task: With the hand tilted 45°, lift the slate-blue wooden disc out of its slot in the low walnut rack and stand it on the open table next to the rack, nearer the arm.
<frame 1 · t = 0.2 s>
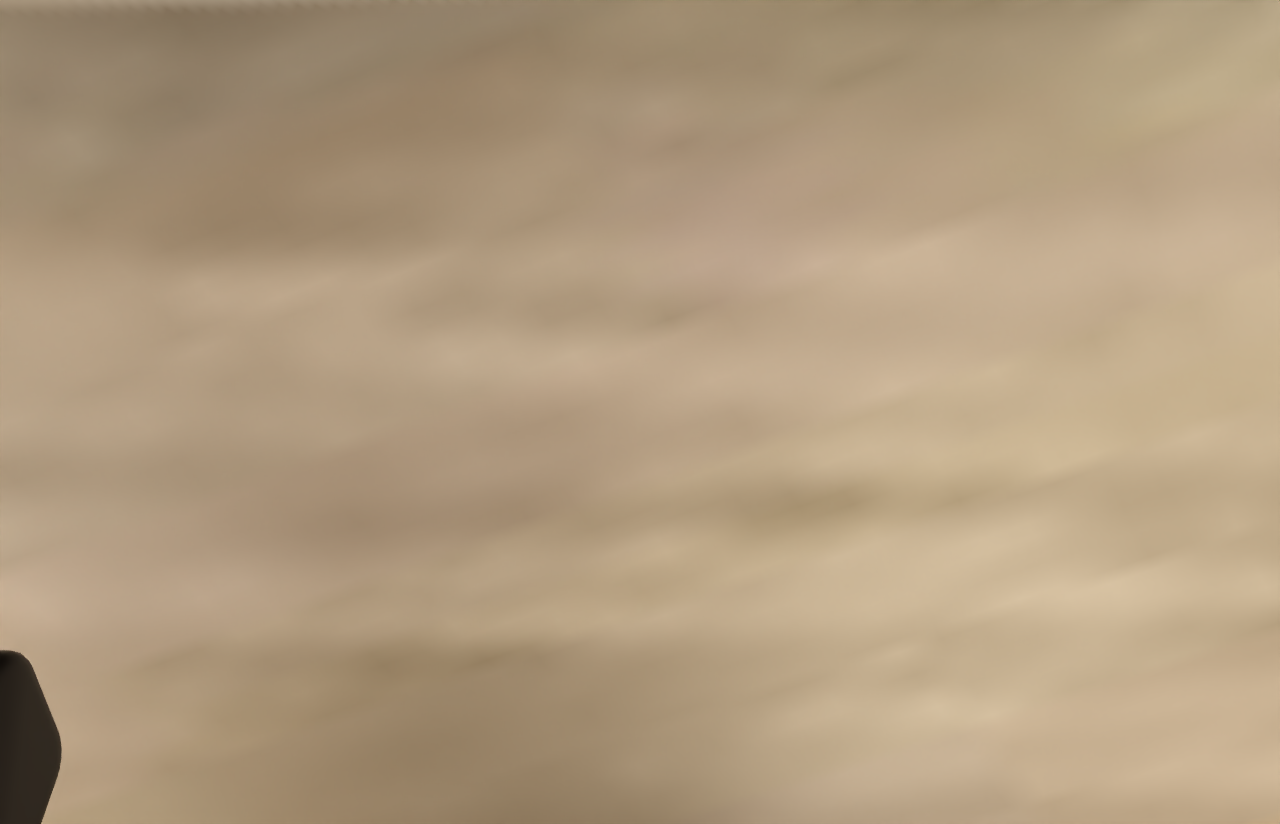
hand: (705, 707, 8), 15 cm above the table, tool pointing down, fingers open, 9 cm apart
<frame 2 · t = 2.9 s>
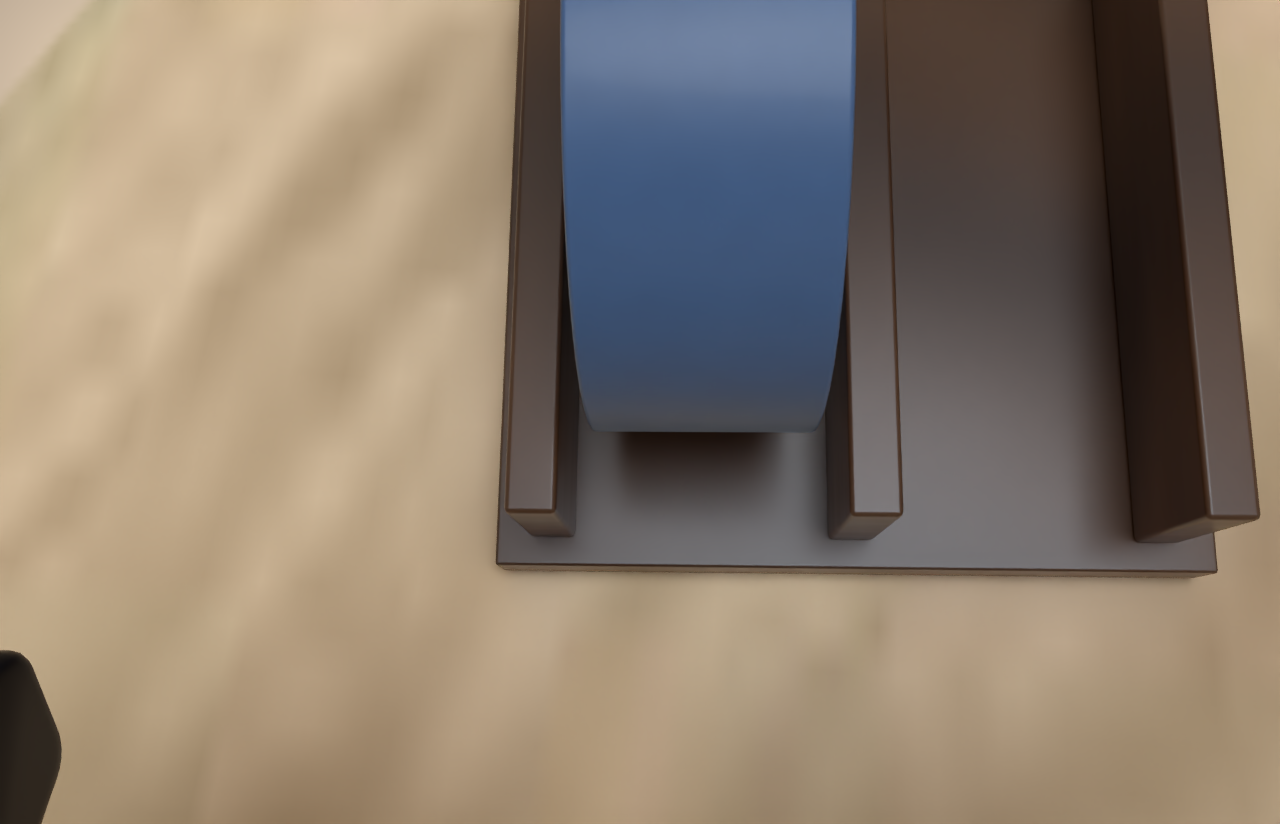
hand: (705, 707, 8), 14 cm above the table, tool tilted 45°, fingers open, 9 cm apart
rack: (701, 260, 23), on the table
disc: (702, 241, 22), point 1 cm above the table, touching rack
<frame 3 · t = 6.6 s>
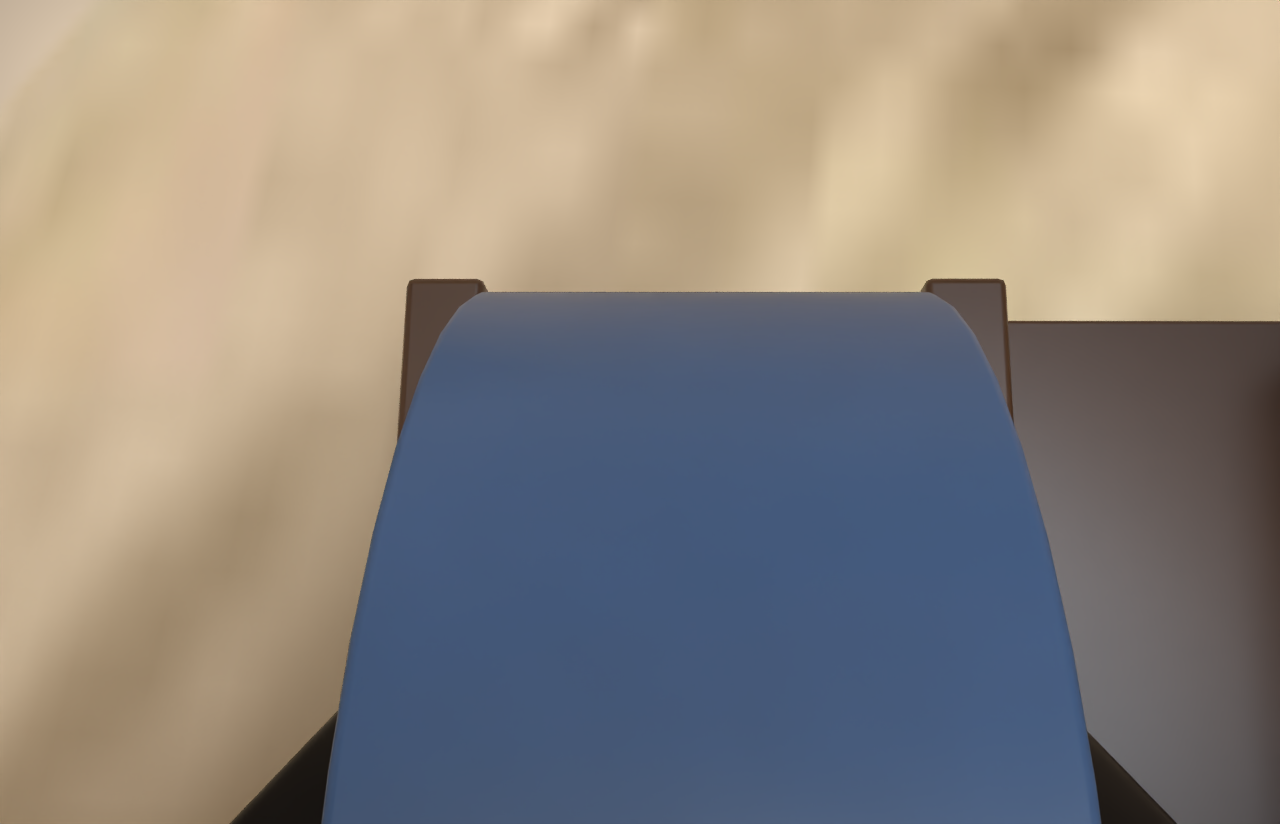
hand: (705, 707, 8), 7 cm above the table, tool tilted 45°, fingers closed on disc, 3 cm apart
rack: (698, 812, 14), on the table
disc: (697, 821, 13), point 1 cm above the table, touching gripper, rack
when the fingers open (5 cm above the table, at t = 13.0 s): disc stays where it is, point 1 cm above the table.
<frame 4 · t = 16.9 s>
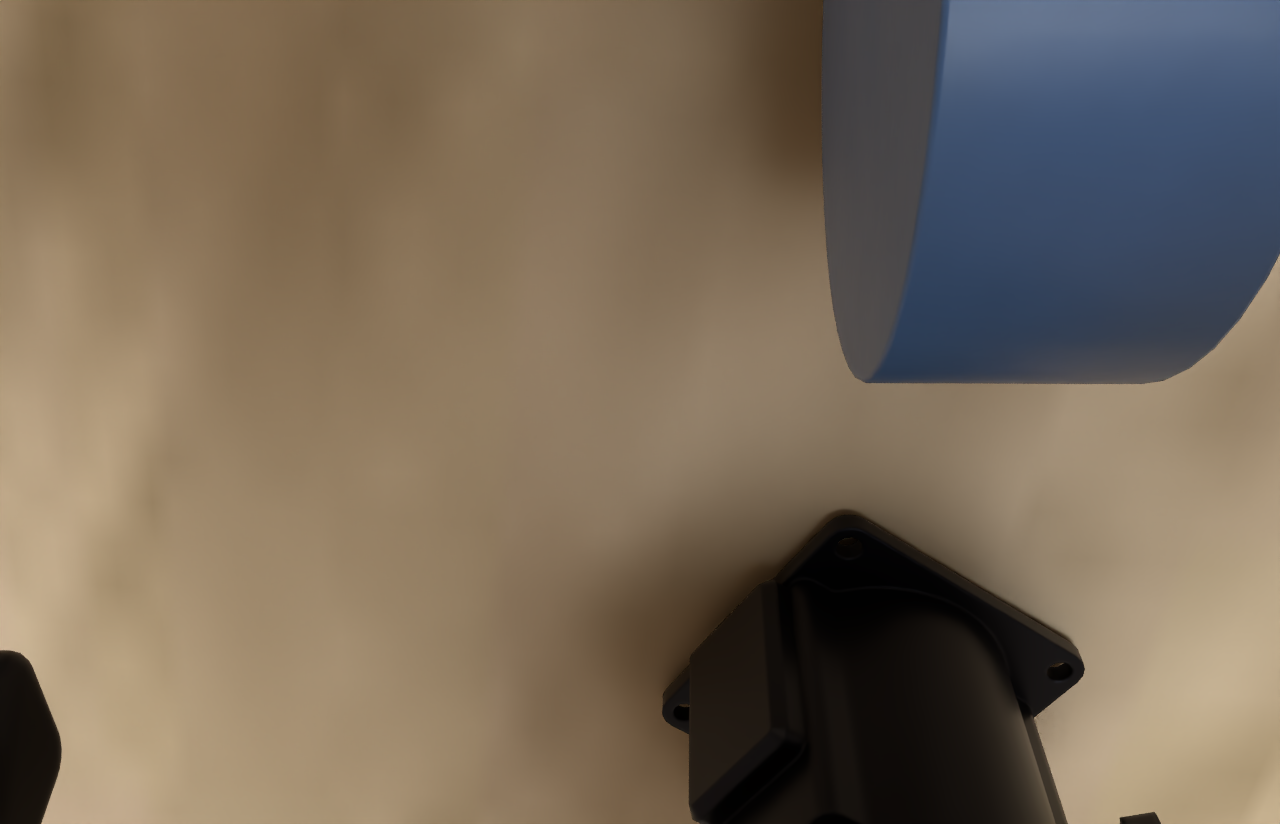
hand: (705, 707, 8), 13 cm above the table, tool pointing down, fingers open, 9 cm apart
disc: (927, 163, 18), point 1 cm above the table, tilted 45°
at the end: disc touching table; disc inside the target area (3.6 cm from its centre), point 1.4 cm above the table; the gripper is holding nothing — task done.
